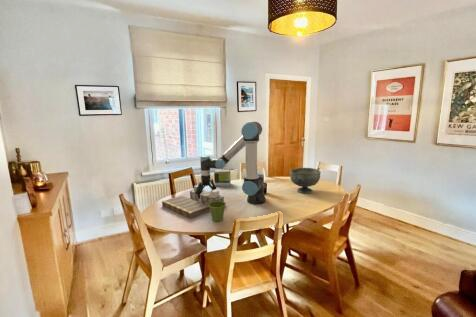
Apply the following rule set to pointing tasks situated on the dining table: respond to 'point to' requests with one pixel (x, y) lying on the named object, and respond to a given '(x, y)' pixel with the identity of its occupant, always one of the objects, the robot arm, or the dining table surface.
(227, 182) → the tea box
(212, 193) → the cargo crate
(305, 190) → the decorative bowl
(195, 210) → the grey flat block
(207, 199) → the grey lumpy bar
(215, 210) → the plant pot
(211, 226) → the dining table surface
